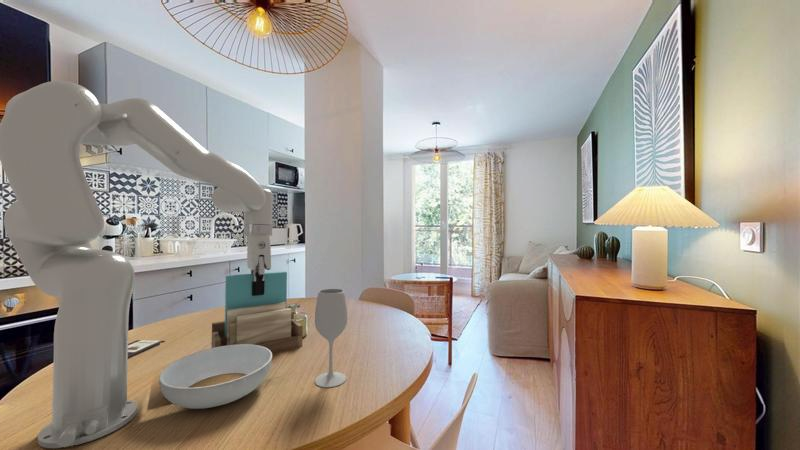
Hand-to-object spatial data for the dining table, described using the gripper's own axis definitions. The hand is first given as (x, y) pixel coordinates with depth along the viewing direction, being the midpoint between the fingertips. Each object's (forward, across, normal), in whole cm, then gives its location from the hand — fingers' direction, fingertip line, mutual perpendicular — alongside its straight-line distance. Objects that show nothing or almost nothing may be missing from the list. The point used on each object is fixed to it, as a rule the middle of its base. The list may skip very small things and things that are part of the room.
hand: (257, 293), depth 89 cm
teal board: (+15, 0, 0) cm, 15 cm away
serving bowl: (+17, -20, +11) cm, 28 cm away
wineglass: (+17, -28, -11) cm, 34 cm away
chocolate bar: (+18, +21, +31) cm, 41 cm away
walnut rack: (+17, -2, 0) cm, 17 cm away
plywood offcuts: (+15, -4, 0) cm, 16 cm away
